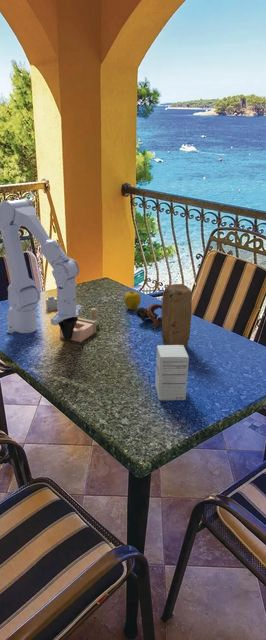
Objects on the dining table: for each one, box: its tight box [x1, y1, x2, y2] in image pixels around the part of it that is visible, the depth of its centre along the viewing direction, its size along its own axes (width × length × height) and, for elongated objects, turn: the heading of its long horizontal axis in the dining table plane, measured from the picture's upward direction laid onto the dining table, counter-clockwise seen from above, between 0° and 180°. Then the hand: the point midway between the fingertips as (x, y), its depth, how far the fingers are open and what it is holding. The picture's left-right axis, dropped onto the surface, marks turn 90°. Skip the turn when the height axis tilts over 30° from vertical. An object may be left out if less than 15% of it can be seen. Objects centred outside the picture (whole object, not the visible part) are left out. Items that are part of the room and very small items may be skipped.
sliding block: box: [59, 321, 94, 343], centre depth 152 cm, size 8×8×4 cm
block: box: [161, 283, 193, 348], centre depth 148 cm, size 11×8×20 cm
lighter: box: [45, 295, 58, 311], centre depth 178 cm, size 7×2×8 cm, turn 113°
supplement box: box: [154, 344, 190, 401], centre depth 119 cm, size 7×7×13 cm
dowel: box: [90, 307, 99, 327], centre depth 161 cm, size 2×2×7 cm
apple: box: [123, 289, 141, 311], centre depth 180 cm, size 6×6×8 cm
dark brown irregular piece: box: [135, 303, 162, 329], centre depth 167 cm, size 12×10×8 cm
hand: (67, 338), depth 148 cm, fingers closed
